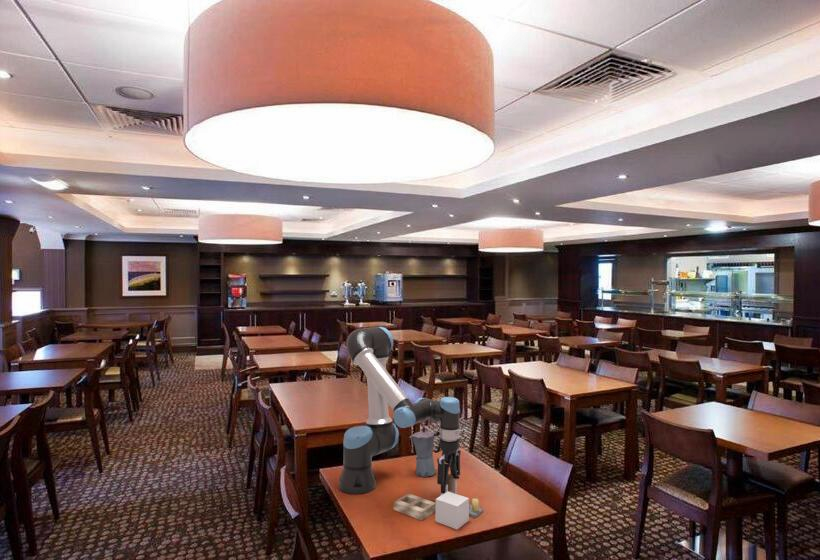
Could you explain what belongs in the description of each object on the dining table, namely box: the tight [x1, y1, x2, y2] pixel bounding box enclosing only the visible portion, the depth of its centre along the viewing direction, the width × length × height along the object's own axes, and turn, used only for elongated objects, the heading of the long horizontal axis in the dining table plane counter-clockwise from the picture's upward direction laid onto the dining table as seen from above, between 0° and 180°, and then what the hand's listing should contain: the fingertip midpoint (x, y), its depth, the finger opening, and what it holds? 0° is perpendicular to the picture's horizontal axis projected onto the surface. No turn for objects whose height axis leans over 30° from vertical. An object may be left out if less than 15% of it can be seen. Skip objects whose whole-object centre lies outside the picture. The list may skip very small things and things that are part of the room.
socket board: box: [393, 492, 436, 521], centre depth 179 cm, size 13×9×3 cm
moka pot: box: [409, 427, 441, 478], centre depth 214 cm, size 10×15×20 cm, turn 107°
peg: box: [447, 473, 453, 493], centre depth 187 cm, size 3×3×10 cm
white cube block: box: [434, 491, 470, 530], centre depth 172 cm, size 9×8×8 cm
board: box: [469, 497, 484, 519], centre depth 179 cm, size 7×6×5 cm
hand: (448, 497), depth 187 cm, fingers open, 6 cm apart
